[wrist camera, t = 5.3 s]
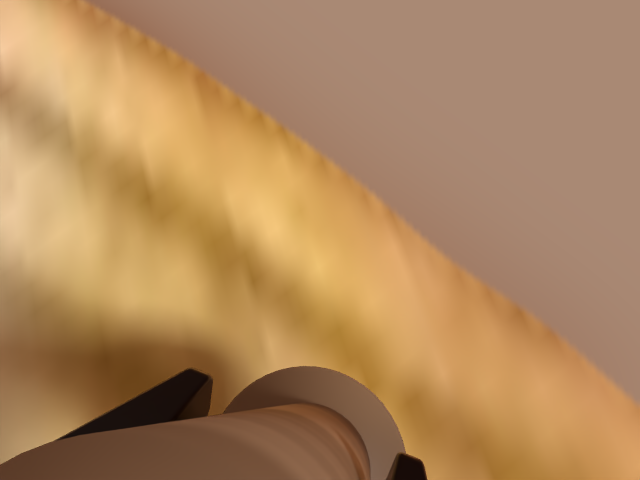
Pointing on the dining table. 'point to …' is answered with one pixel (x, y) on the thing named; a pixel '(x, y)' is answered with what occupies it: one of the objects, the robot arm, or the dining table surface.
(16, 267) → the dining table surface
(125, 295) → the dining table surface
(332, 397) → the tamper
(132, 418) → the robot arm
